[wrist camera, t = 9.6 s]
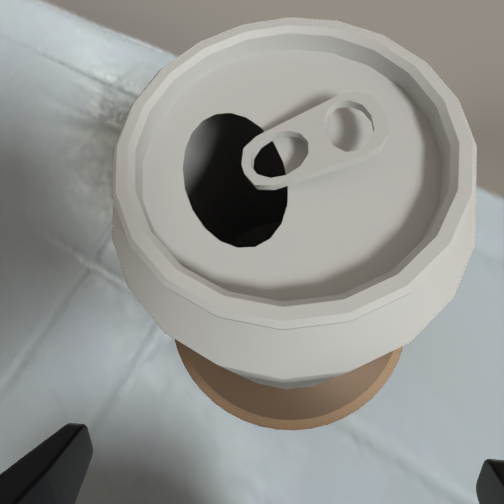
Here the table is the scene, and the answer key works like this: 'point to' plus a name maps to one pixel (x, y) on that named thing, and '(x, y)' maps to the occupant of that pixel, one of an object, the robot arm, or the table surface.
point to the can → (294, 199)
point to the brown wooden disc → (289, 393)
